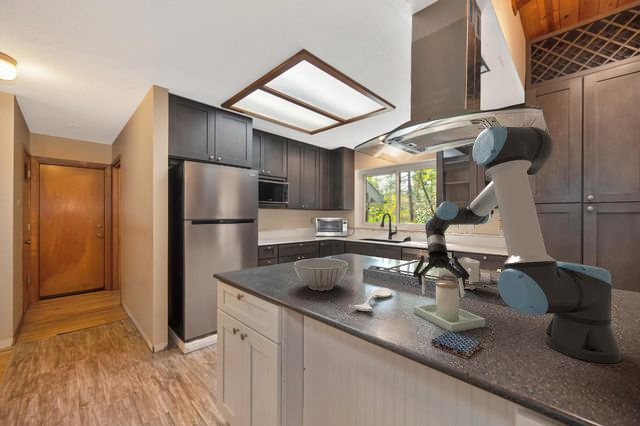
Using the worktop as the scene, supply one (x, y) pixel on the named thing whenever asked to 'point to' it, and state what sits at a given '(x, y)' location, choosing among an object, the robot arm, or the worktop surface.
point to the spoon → (375, 293)
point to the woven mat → (456, 343)
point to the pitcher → (471, 269)
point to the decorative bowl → (321, 272)
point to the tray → (464, 322)
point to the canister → (447, 300)
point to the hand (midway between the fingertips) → (442, 294)
